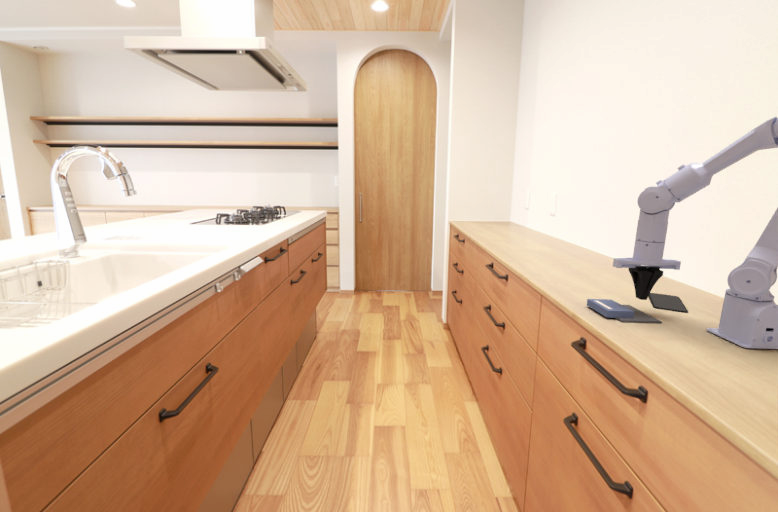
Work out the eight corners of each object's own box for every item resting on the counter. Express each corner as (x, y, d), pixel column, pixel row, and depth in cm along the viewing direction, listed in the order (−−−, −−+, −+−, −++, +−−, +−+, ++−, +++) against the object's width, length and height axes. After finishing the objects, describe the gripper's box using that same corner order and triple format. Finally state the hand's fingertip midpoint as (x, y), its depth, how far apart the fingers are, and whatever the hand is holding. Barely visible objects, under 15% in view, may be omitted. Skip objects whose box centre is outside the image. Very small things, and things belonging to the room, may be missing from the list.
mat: (661, 323, 89) (662, 321, 89) (621, 322, 88) (621, 320, 88) (628, 306, 100) (629, 304, 100) (593, 305, 100) (593, 303, 100)
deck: (634, 311, 90) (607, 310, 90) (633, 318, 90) (606, 317, 90) (611, 299, 99) (587, 298, 99) (610, 305, 99) (586, 305, 99)
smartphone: (653, 306, 100) (647, 292, 113) (652, 310, 100) (647, 295, 113) (689, 312, 96) (679, 296, 109) (688, 315, 97) (678, 299, 110)
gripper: (668, 239, 95) (659, 294, 98) (608, 237, 95) (601, 293, 97) (691, 243, 88) (681, 303, 91) (626, 242, 88) (618, 301, 90)
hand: (641, 298), depth 94 cm, fingers closed
